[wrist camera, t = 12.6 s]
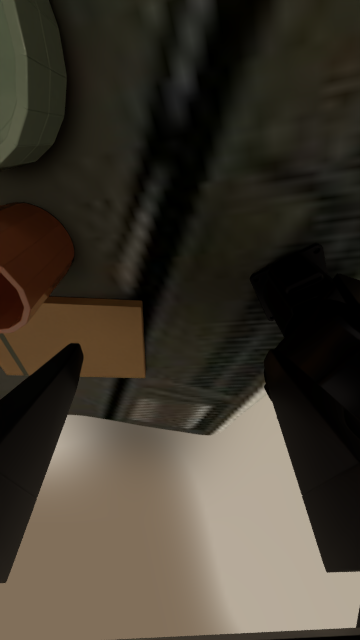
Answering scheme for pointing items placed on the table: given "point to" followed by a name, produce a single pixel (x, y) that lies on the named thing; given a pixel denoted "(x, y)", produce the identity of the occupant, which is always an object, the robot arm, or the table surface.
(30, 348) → the notebook
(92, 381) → the table surface
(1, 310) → the cup
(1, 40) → the bowl
